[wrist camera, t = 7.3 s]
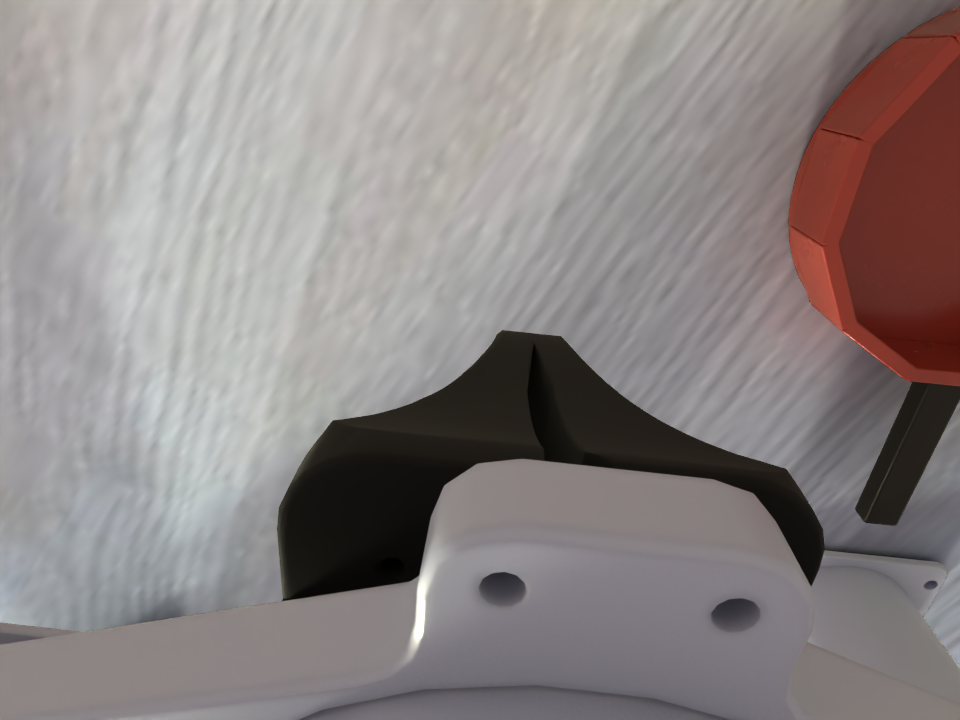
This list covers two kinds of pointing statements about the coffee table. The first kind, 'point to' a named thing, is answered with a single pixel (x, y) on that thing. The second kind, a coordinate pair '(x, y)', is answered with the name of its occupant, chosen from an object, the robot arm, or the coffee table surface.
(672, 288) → the coffee table surface
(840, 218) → the pan
